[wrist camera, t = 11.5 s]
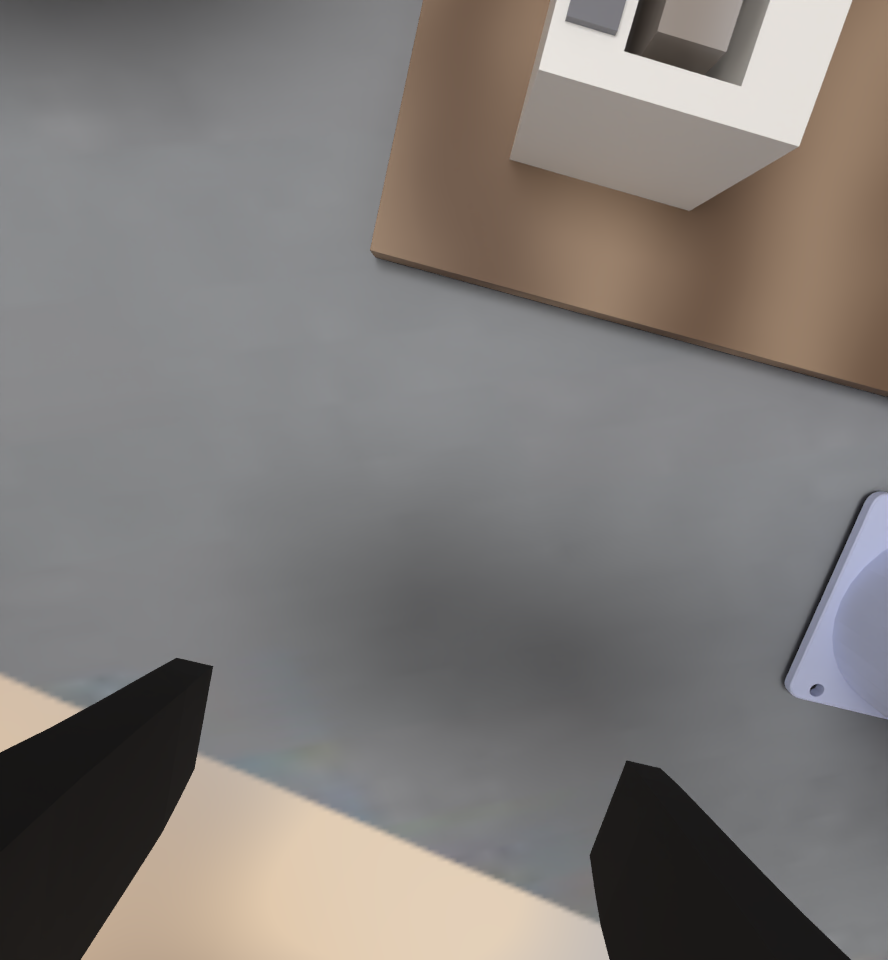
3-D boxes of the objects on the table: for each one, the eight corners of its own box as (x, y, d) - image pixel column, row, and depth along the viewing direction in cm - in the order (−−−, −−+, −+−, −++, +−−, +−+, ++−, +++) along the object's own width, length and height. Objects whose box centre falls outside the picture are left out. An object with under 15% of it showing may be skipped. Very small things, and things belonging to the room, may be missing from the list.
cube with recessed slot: (760, -2, 15) (927, -191, 9) (689, 211, 16) (804, 143, 11) (566, -62, 14) (632, -290, 9) (509, 159, 15) (540, 65, 10)
